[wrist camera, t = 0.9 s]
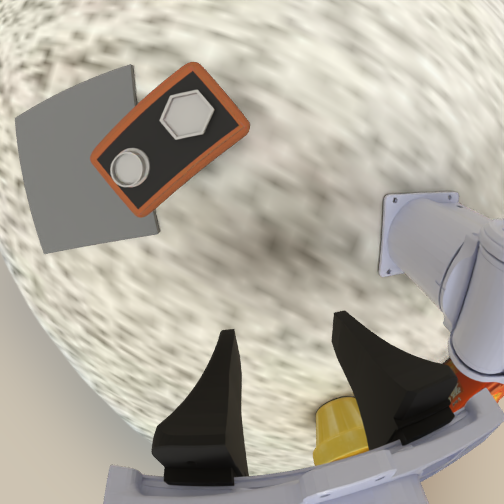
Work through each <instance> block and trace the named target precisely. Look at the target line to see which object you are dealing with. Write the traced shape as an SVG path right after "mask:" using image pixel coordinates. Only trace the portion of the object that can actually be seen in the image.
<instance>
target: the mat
mask: <svg viewBox="0 0 504 504" xmlns="http://www.w3.org/2000/svg"><path fill="white" fill-rule="evenodd" d="M136 105H137V100H136V91H135V81H134V69H133V65H131V64H130V65H127V66H124V67H121V68H118V69H115V70H112V71H109V72H107V73H104V74H102V75H99V76H96V77H94V78H91V79H89V80H87V81H84V82H82V83H80V84H77V85H75V86H73V87H71V88H69V89H67V90H65V91H62V92H60V93H58V94H56V95H54V96H52V97H51V98H49V99H47V100H45V101H43V102H41V103H39V104H38V105H36V106H34V107H32V108H31V109H29V110H27V111H26V112H24V113H22V114H21V115H19V116H18V117H16V118H15V126H16V136H17V144H18V152H19V158H20V164H21V170H22V175H23V180H24V185H25V190H26V194H27V198H28V202H29V206H30V210H31V214H32V217H33V221H34V224H35V228H36V231H37V234H38V237H39V240H40V243H41V246H42V249H43V252H44V254H48V253H53V252H58V251H63V250H68V249H74V248H79V247H85V246H90V245H96V244H101V243H107V242H113V241H119V240H125V239H131V238H137V237H143V236H149V235H155V234H159V232H160V230H159V225H158V221H157V217H156V212H155V210H154V211H152V212H151V213H150V214H149V215H147V216H145V217H142V218H139V217H136V216H135V215H134V214H133V212H132V211H131V210H130V209H129V208H128V207H127V206H126V204H125V203H124V202H123V201H122V200H121V199H120V197H119V196H118V195H117V194H116V193H115V191H114V190H113V189H112V188H111V187H110V185H109V184H108V183H107V182H106V181H105V179H104V178H103V177H102V176H101V174H100V173H99V172H98V171H97V169H96V168H95V167H94V166H93V164H92V163H91V161H90V156H91V153H92V151H93V150H94V149H95V147H96V146H97V145H98V144H99V143H100V142H101V141H102V140H103V138H104V137H105V136H106V135H107V134H108V133H109V132H110V131H111V130H112V129H113V128H114V127H115V126H116V125H117V124H118V123H119V122H120V121H121V120H122V119H123V118H124V117H125V116H126V115H127V114H128V113H129V112H130V111H131V110H132V109H133V108H134V107H135V106H136Z"/></svg>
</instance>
